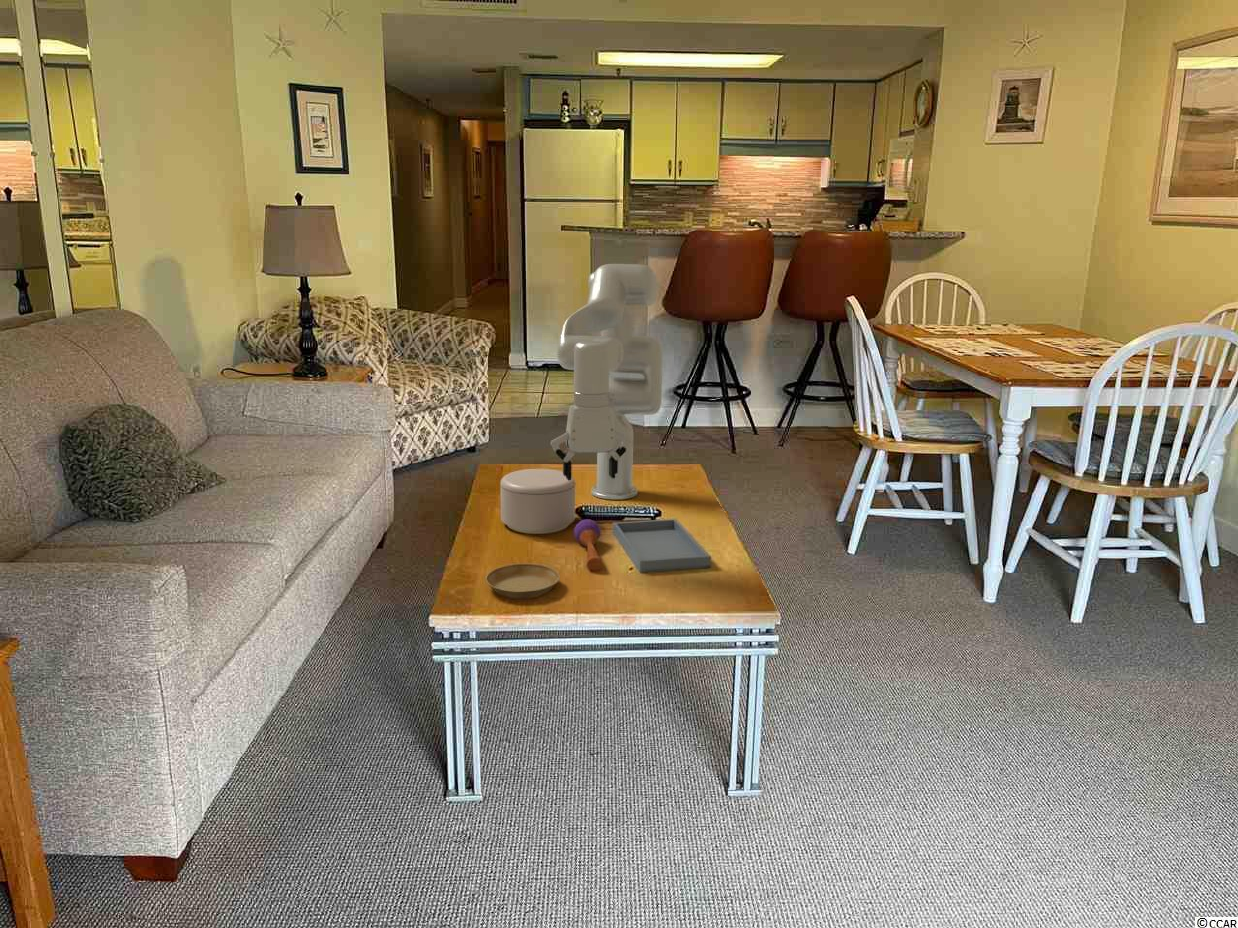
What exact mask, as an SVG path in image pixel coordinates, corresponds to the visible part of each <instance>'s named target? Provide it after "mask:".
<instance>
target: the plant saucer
mask: <svg viewBox="0 0 1238 928" xmlns="http://www.w3.org/2000/svg"><path fill="white" fill-rule="evenodd" d="M560 578H561V575H560V574H559V572H558V571H557V570H555V569H553V568H552V567H549V566H547V565H544V564H542V565H541V564H537V563H514V564H513V563H512V564H507V565H503V566H499V567H497V568H494V569H493V570H491V571H490V572H488V573H487V575H486V576H485V581H486V583H487V584H488V586H489V587H490V588H491V589H492V590H493V591H495V592H496V593H497V594H498V595H500V596H503V597H506V598H511V599H520V600H523V599H524V600H525V599H532V598H533V599H534V598H536V597H540V596H543V595H545V594H546V593H548V592H549V591H550V590H551V589H553V587H555V585H557V583H558V582H559V580H560Z"/></svg>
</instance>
